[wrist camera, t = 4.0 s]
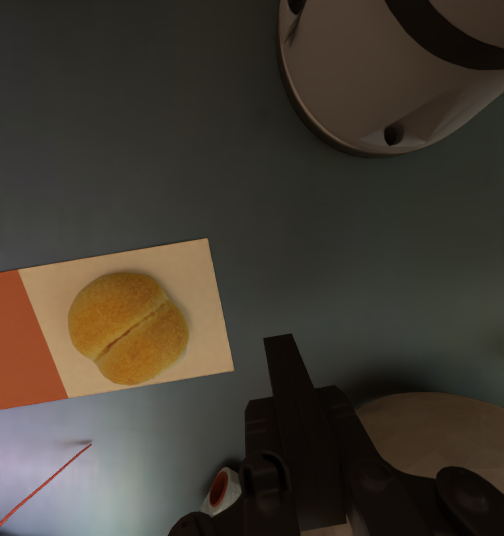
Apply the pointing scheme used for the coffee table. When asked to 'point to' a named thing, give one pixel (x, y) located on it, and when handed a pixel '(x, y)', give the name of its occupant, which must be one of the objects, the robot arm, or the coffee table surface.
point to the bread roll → (128, 327)
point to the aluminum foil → (222, 492)
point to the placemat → (57, 332)
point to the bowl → (432, 438)
